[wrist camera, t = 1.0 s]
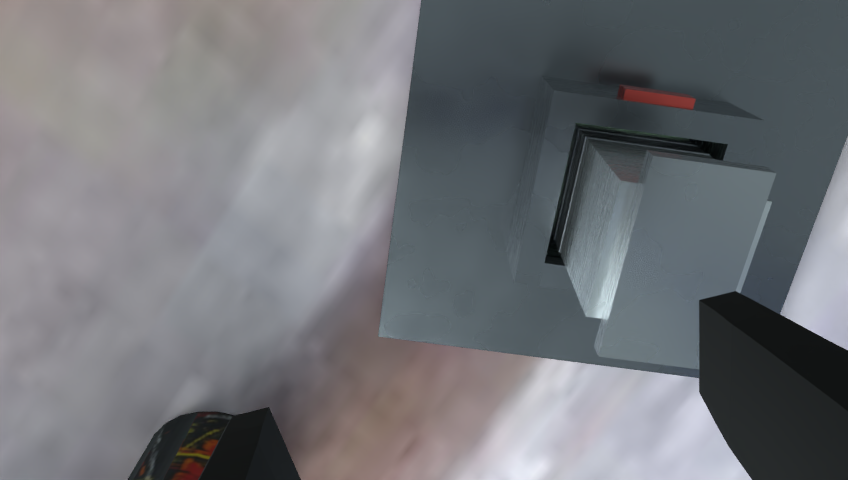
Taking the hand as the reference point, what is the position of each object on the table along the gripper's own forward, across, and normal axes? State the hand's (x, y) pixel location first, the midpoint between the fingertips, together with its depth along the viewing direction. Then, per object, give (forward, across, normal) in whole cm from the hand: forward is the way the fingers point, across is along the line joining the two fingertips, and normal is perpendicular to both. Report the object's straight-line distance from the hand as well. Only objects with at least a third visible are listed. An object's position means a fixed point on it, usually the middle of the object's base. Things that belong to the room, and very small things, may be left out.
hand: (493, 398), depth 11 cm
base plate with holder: (+12, -6, +3) cm, 14 cm away
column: (+12, -6, +3) cm, 14 cm away
